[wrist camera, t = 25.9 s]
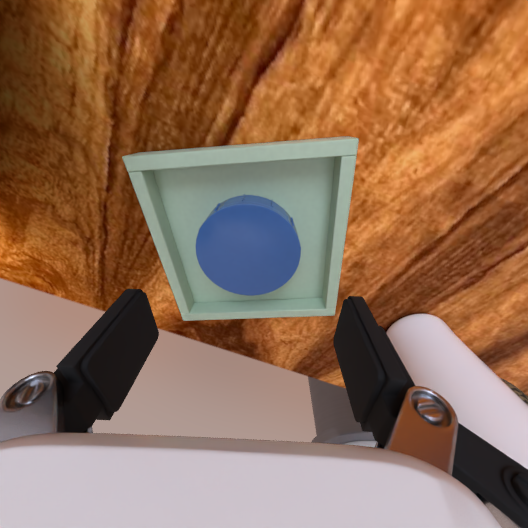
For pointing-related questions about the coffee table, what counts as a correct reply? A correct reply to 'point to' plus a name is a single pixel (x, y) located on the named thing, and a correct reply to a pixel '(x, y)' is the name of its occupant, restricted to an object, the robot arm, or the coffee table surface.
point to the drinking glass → (462, 382)
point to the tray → (259, 184)
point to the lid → (248, 245)
